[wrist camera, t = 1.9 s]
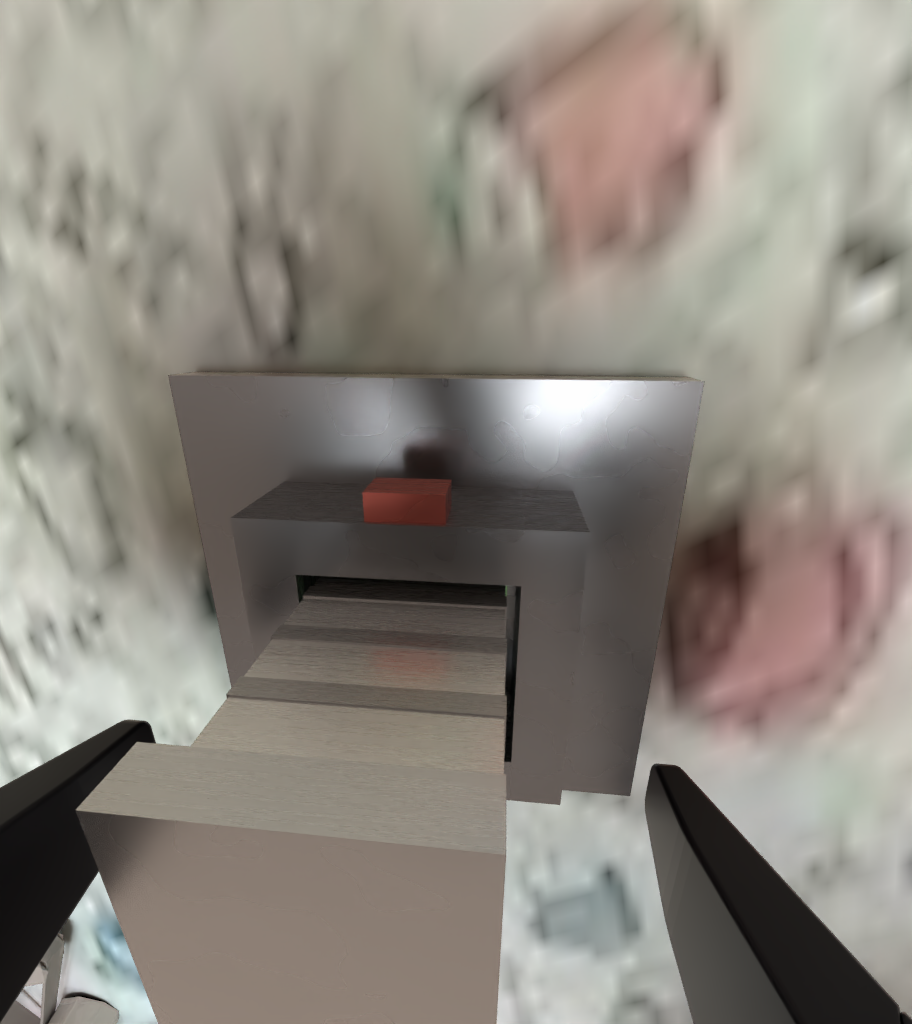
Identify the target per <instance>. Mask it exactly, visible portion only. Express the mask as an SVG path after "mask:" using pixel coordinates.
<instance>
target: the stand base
mask: <svg viewBox="0 0 912 1024" xmlns="http://www.w3.org/2000/svg"><path fill="white" fill-rule="evenodd" d="M168 376H169V381H170V386H171V391H172V396H173V401H174V406H175V411H176V416H177V421H178V426H179V431H180V436H181V441H182V446H183V451H184V455H185V460H186V465H187V470H188V475H189V480H190V485H191V490H192V495H193V500H194V505H195V510H196V515H197V520H198V525H199V529H200V534H201V539H202V544H203V549H204V554H205V559H206V564H207V569H208V574H209V579H210V584H211V589H212V594H213V599H214V603H215V608H216V613H217V618H218V623H219V628H220V633H221V638H222V643H223V648H224V653H225V658H226V663H227V668H228V673H229V677H230V682H231V687H233V685H234V684H235V683H236V681H237V680H238V679H239V678H240V676H245V674H246V673H247V672H248V670H249V669H250V668H251V666H252V665H253V664H254V662H255V661H256V660H257V659H258V657H259V656H260V655H261V653H262V652H263V651H264V649H265V648H266V647H267V645H268V644H269V643H270V641H271V636H272V635H273V634H274V632H275V631H276V630H277V628H278V627H279V626H280V624H284V623H285V622H286V620H287V619H288V618H289V617H290V615H291V614H292V613H293V611H294V610H295V609H296V607H297V606H298V605H299V603H300V602H301V601H302V600H303V595H304V593H305V592H306V591H307V590H308V588H309V587H310V586H313V585H314V584H315V582H316V581H317V580H318V579H319V577H320V576H330V577H350V578H369V579H389V580H408V581H427V582H447V583H466V584H486V585H505V586H507V616H506V638H507V658H506V680H505V695H506V696H507V718H506V738H505V757H504V774H506V800H514V801H525V802H535V803H546V804H557V805H560V801H561V792H562V790H569V791H580V792H592V793H603V794H614V795H625V796H630V793H631V788H632V782H633V777H634V771H635V765H636V760H637V754H638V749H639V743H640V738H641V732H642V726H643V721H644V715H645V710H646V704H647V699H648V693H649V688H650V682H651V676H652V671H653V665H654V660H655V654H656V649H657V643H658V637H659V632H660V626H661V621H662V615H663V610H664V604H665V598H666V593H667V587H668V582H669V576H670V571H671V565H672V559H673V554H674V548H675V543H676V537H677V532H678V526H679V520H680V515H681V509H682V504H683V498H684V493H685V487H686V481H687V476H688V470H689V465H690V459H691V454H692V448H693V442H694V437H695V431H696V426H697V420H698V415H699V409H700V403H701V398H702V392H703V387H704V381H701V380H697V379H693V378H689V377H628V376H536V375H444V374H352V373H260V372H189V373H181V374H174V375H168Z"/></svg>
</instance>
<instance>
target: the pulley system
mask: <svg viewBox="0 0 912 1024" xmlns="http://www.w3.org/2000/svg"><path fill="white" fill-rule="evenodd" d="M64 944H65V943H64V942H63V935H62V934H60V933H59V934H58V935H57V937H56V938H55V940H54V941H53V943H52V945H51V946H50V948H49V949H48V951H47V952H46V954H45V955H44V957H43V958H42V960H41V962H40V963H39V965H38V966H37V968H36V969H35V971H34V972H33V974H32V975H31V977H30V979H29V980H28V982H27V983H26V985H25V986H31V985H36V984H42V983H43V989H42V1005H41V1019H40V1018H39V1017H37V1016H36V1015H35V1014H33V1013H32V1012H31V1011H29V1010H28V1009H27V1008H25V1007H24V1006H23V1005H21V1004H20V1003H19V1002H17V1001H16V1000H15V1002H14V1003H13V1005H12V1006H11V1008H10V1009H9V1011H8V1013H7V1014H6V1016H5V1017H4V1019H3V1020H2V1022H1V1023H0V1024H116V1023H117V1021H118V1019H119V1011H118V1010H116V1009H115V1008H113V1007H111V1006H110V1005H108V1004H106V1003H105V1002H101V1001H97V1000H92V999H88V998H84V997H72V998H65V999H62V1001H61V1003H60V1005H59V1006H58V1008H57V1010H56V1011H55V1009H56V1002H57V994H58V987H59V980H60V973H61V965H62V958H63V954H64ZM25 986H24V987H25Z"/></svg>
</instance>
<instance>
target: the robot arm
mask: <svg viewBox="0 0 912 1024" xmlns="http://www.w3.org/2000/svg"><path fill="white" fill-rule="evenodd" d="M136 742H144V743H155V744H156V742H155V739H154V735H153V732H152V728H151V726H150V724H149V723H148V722H146V721H140V720H124V721H121V722H119V723H117V724H115V725H114V726H112V727H110V728H108V729H106V730H105V731H103V732H101V733H99V734H97V735H95V736H94V737H92V738H90V739H88V740H86V741H85V742H83V743H81V744H79V745H77V746H75V747H74V748H72V749H70V750H68V751H66V752H64V753H63V754H61V755H59V756H57V757H55V758H54V759H52V760H50V761H48V762H46V763H44V764H43V765H41V766H39V767H37V768H35V769H34V770H32V771H30V772H28V773H26V774H24V775H23V776H21V777H19V778H17V779H15V780H13V781H12V782H10V783H8V784H6V785H4V786H3V787H1V788H0V1023H1V1022H2V1020H3V1019H4V1017H5V1016H6V1014H7V1013H8V1011H9V1009H10V1008H11V1006H12V1005H13V1003H14V1002H15V1000H16V999H17V997H18V996H19V994H20V992H21V991H22V989H23V988H24V986H25V985H26V983H27V982H28V980H29V979H30V977H31V975H32V974H33V972H34V971H35V969H36V968H37V966H38V965H39V963H40V962H41V960H42V958H43V957H44V955H45V954H46V952H47V951H48V949H49V948H50V946H51V945H52V943H53V941H54V940H55V938H56V937H57V935H58V934H59V932H60V931H61V929H62V927H63V926H64V924H65V923H66V921H67V920H68V918H69V917H70V915H71V914H72V912H73V910H74V909H75V907H76V906H77V904H78V903H79V901H80V900H81V898H82V897H83V895H84V893H85V892H86V890H87V889H88V887H89V886H90V884H91V883H92V881H93V880H94V878H95V876H96V875H97V873H98V872H99V870H98V867H97V865H96V862H95V860H94V857H93V854H92V852H91V849H90V847H89V844H88V842H87V839H86V836H85V834H84V831H83V829H82V826H81V824H80V821H79V818H78V816H77V813H76V811H75V810H76V809H77V808H78V807H79V806H80V805H81V803H82V802H83V801H84V800H85V799H86V798H87V797H88V796H89V795H90V793H91V792H92V791H93V790H94V789H95V788H96V787H97V786H98V785H99V783H100V782H101V781H102V780H103V779H104V778H105V777H106V776H107V775H108V773H109V772H110V771H111V770H112V769H113V768H114V767H115V766H116V765H117V763H118V762H119V761H120V760H121V759H122V758H123V757H124V756H125V755H126V753H127V752H128V751H129V750H130V749H131V748H132V747H133V746H134V745H135V743H136ZM645 813H646V819H647V824H648V830H649V835H650V841H651V846H652V852H653V857H654V863H655V868H656V874H657V879H658V885H659V890H660V896H661V901H662V906H663V911H664V916H665V921H666V925H667V929H668V933H669V937H670V941H671V944H672V948H673V951H674V955H675V959H676V962H677V966H678V969H679V973H680V976H681V980H682V984H683V987H684V991H685V994H686V998H687V1001H688V1005H689V1009H690V1012H691V1016H692V1019H693V1023H694V1024H912V1019H911V1018H910V1017H909V1016H908V1015H907V1014H906V1013H904V1012H901V1013H900V1008H899V1006H898V1004H897V1003H896V1002H895V1001H894V1000H893V999H892V997H891V996H890V995H889V994H888V993H887V992H886V991H885V990H884V989H883V988H882V987H881V986H880V984H879V983H878V982H877V981H876V980H875V979H874V978H873V977H872V976H871V975H870V974H869V972H868V971H867V970H866V969H865V968H864V967H863V966H862V965H861V964H860V963H859V962H858V960H857V959H856V958H855V957H854V956H853V955H852V954H851V953H850V952H849V951H848V950H847V948H846V947H845V946H844V945H843V944H842V943H841V942H840V941H839V940H838V939H837V938H836V936H835V935H834V934H833V933H832V932H831V931H830V930H829V929H828V928H827V927H826V926H825V924H824V923H823V922H822V921H821V920H820V919H819V918H818V917H817V916H816V915H815V914H814V912H813V911H812V910H811V909H810V908H809V907H808V906H807V905H806V904H805V903H804V902H803V900H802V899H801V898H800V897H799V896H798V895H797V894H796V893H795V892H794V891H793V890H792V888H791V887H790V886H789V885H788V884H787V883H786V882H785V881H784V880H783V879H782V878H781V876H780V875H779V874H778V873H777V872H776V871H775V870H774V869H773V868H772V867H771V866H770V864H769V863H768V862H767V861H766V860H765V859H764V858H763V857H762V856H761V855H760V854H759V852H758V851H757V850H756V849H755V848H754V847H753V846H752V845H751V844H750V843H749V842H748V840H747V839H746V838H745V837H744V836H743V835H742V834H741V833H740V832H739V831H738V830H737V828H736V827H735V826H734V825H733V824H732V823H731V822H730V821H729V820H728V819H727V818H726V816H725V815H724V814H723V813H722V812H721V811H720V810H719V809H718V808H717V807H716V806H715V804H714V803H713V802H712V801H711V800H710V799H709V798H708V797H707V796H706V795H705V794H704V792H703V791H702V790H701V789H700V788H699V787H698V786H697V785H696V784H695V783H694V782H693V781H692V779H691V778H690V777H689V776H688V775H687V774H686V773H685V772H684V771H683V770H682V769H681V768H680V767H678V766H676V765H667V764H654V765H653V766H652V768H651V771H650V776H649V781H648V786H647V791H646V796H645Z"/></svg>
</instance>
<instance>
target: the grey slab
mask: <svg viewBox="0 0 912 1024" xmlns="http://www.w3.org/2000/svg"><path fill="white" fill-rule="evenodd" d="M506 616H507V586H505V585H486V584H466V583H447V582H427V581H408V580H389V579H369V578H350V577H330V576H320V577H319V579H318V580H317V581H316V582H315V584H314V585H313V586H310V587H309V588H308V590H307V591H306V592H305V593H304V595H303V600H302V601H301V602H300V603H299V605H298V606H297V607H296V609H295V610H294V611H293V613H292V614H291V615H290V617H289V618H288V619H287V620H286V622H285V623H284V624H280V626H279V627H278V628H277V630H276V631H275V632H274V634H273V635H272V636H271V641H270V643H269V644H268V645H267V647H266V648H265V649H264V651H263V652H262V653H261V655H260V656H259V657H258V659H257V660H256V661H255V662H254V664H253V665H252V666H251V668H250V669H249V670H248V672H247V673H246V674H245V676H240V678H239V679H238V680H237V681H236V683H235V684H234V685H233V687H232V688H231V689H230V690H229V692H228V693H227V694H226V695H227V699H226V700H225V702H224V703H223V704H222V706H221V707H220V708H219V710H218V711H217V712H216V714H215V715H214V716H213V718H212V719H211V720H210V721H209V723H208V724H207V725H206V727H205V728H204V729H203V731H202V732H201V733H200V735H199V736H198V737H197V738H196V740H195V741H194V742H193V744H192V745H191V746H190V747H189V746H178V745H167V744H155V743H144V742H136V743H135V745H134V746H133V747H132V748H131V749H130V750H129V751H128V752H127V753H126V755H125V756H124V757H123V758H122V759H121V760H120V761H119V762H118V763H117V765H116V766H115V767H114V768H113V769H112V770H111V771H110V772H109V773H108V775H107V776H106V777H105V778H104V779H103V780H102V781H101V782H100V783H99V785H98V786H97V787H96V788H95V789H94V790H93V791H92V792H91V793H90V795H89V796H88V797H87V798H86V799H85V800H84V801H83V802H82V803H81V805H80V806H79V807H78V808H77V809H76V810H75V811H76V813H77V816H78V818H79V821H80V824H81V826H82V829H83V831H84V834H85V836H86V839H87V842H88V844H89V847H90V849H91V852H92V854H93V857H94V860H95V862H96V865H97V867H98V870H99V872H100V875H101V878H102V880H103V883H104V885H105V888H106V890H107V893H108V895H109V898H110V901H111V903H112V906H113V908H114V911H115V913H116V916H117V919H118V921H119V924H120V926H121V929H122V931H123V934H124V937H125V939H126V942H127V944H128V947H129V949H130V952H131V955H132V957H133V960H134V962H135V965H136V967H137V970H138V973H139V975H140V978H141V980H142V983H143V985H144V988H145V991H146V993H147V996H148V998H149V1001H150V1003H151V1006H152V1009H153V1011H154V1014H155V1016H156V1019H157V1021H158V1024H496V1020H497V1003H498V985H499V968H500V950H501V932H502V915H503V897H504V880H505V862H506V774H504V757H505V738H506V718H507V696H506V695H505V680H506V658H507V638H506Z"/></svg>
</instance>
